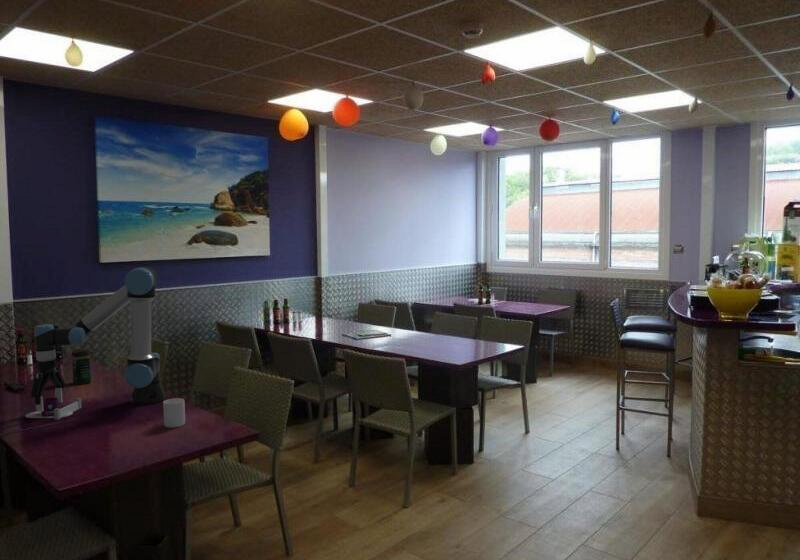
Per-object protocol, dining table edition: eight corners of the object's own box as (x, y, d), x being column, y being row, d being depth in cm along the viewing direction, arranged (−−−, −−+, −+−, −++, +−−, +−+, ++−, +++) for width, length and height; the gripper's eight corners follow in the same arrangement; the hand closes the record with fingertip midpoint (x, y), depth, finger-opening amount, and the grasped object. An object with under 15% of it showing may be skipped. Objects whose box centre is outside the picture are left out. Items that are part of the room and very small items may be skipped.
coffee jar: (93, 383, 321) (91, 349, 319) (77, 385, 315) (75, 351, 314) (86, 380, 327) (85, 346, 326) (71, 382, 322) (69, 348, 320)
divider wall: (81, 407, 275) (81, 398, 275) (58, 419, 258) (57, 409, 257) (78, 407, 275) (77, 398, 275) (54, 419, 258) (53, 409, 257)
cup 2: (167, 429, 244) (166, 404, 243) (159, 421, 253) (158, 398, 253) (187, 425, 249) (186, 401, 248) (179, 418, 258) (178, 395, 257)
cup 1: (41, 417, 259) (41, 402, 259) (41, 412, 268) (40, 397, 267) (59, 415, 263) (58, 400, 262) (58, 409, 271) (57, 394, 271)
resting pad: (77, 411, 269) (77, 411, 269) (65, 418, 260) (65, 417, 260) (34, 411, 270) (34, 410, 270) (20, 417, 261) (20, 417, 261)
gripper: (55, 353, 275) (58, 398, 277) (18, 366, 250) (22, 415, 252) (71, 353, 275) (74, 398, 277) (36, 366, 250) (40, 415, 252)
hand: (49, 406), depth 264 cm, fingers open, 13 cm apart
